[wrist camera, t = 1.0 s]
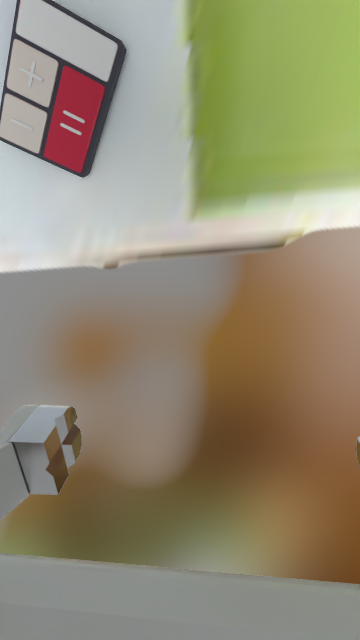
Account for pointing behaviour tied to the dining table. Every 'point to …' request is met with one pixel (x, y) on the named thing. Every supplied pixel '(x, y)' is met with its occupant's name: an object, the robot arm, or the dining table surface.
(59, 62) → the calculator
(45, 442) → the robot arm
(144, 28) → the dining table surface
